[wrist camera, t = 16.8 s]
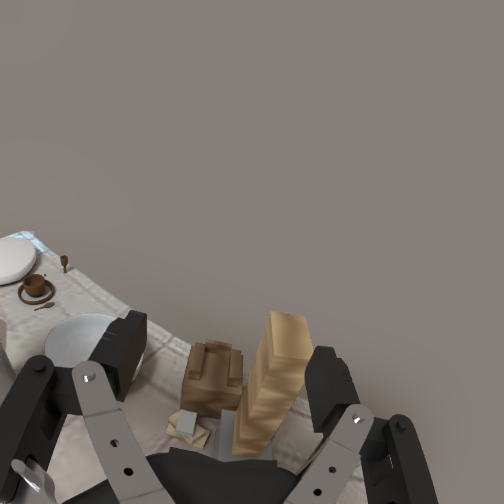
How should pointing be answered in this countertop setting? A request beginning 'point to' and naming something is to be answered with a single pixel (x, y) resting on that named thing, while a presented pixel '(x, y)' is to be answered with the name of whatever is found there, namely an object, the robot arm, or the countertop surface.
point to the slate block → (225, 440)
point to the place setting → (39, 286)
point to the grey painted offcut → (186, 423)
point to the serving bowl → (77, 339)
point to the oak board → (271, 383)
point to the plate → (15, 259)
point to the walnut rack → (212, 379)
